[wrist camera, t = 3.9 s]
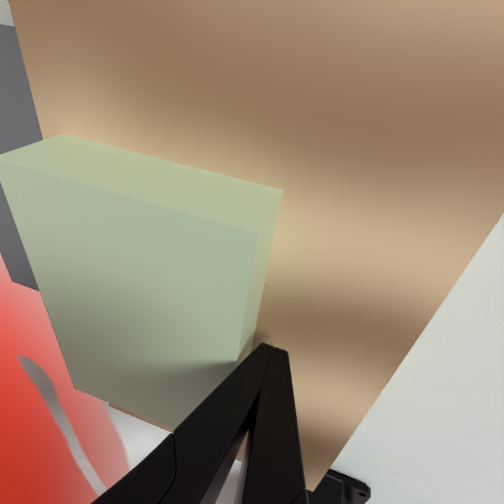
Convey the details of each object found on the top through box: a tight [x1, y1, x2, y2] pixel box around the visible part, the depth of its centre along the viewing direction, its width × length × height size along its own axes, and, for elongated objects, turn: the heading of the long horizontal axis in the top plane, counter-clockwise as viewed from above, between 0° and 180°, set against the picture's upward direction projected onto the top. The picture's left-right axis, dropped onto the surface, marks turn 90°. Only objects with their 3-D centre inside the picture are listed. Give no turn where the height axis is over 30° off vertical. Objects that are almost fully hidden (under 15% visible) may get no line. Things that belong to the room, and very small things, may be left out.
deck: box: [9, 0, 504, 492], centre depth 12 cm, size 20×11×4 cm, turn 172°
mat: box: [0, 24, 43, 291], centre depth 16 cm, size 14×9×1 cm, turn 172°
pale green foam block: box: [0, 134, 283, 430], centre depth 10 cm, size 9×6×2 cm, turn 172°
